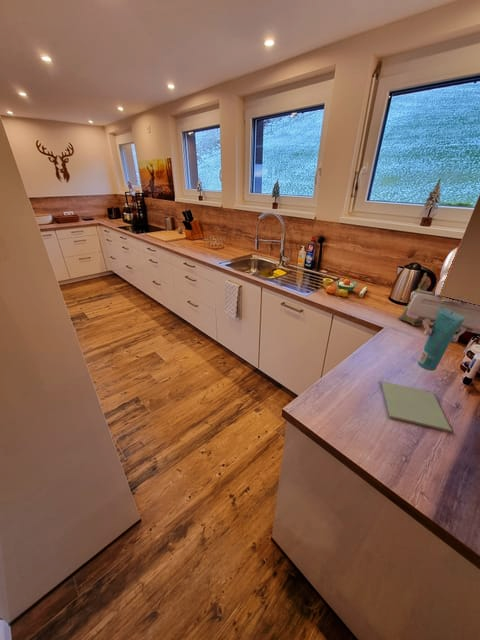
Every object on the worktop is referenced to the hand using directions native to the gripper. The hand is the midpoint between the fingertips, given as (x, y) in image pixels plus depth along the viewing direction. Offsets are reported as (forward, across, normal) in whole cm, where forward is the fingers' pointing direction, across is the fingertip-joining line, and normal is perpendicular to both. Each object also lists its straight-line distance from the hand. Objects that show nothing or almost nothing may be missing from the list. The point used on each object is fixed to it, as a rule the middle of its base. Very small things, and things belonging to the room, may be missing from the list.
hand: (440, 337), depth 77 cm
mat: (+20, 0, +13) cm, 24 cm away
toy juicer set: (-41, -40, +74) cm, 94 cm away
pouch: (-27, -4, +60) cm, 66 cm away
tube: (+7, 0, +8) cm, 11 cm away
